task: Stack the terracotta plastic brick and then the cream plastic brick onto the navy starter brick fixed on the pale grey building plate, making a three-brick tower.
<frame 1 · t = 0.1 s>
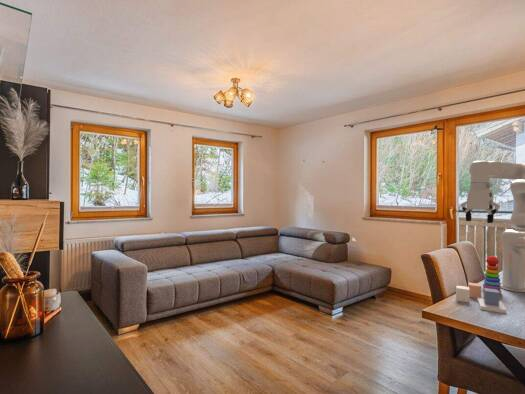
hand: (479, 221, 149), 37 cm above the table, tool pointing down, fingers open, 9 cm apart
cream brick: (462, 300, 147), on the table
terracotta brick: (474, 296, 152), on the table
stacking toy: (491, 292, 158), on the table
tower base: (490, 306, 138), on the table
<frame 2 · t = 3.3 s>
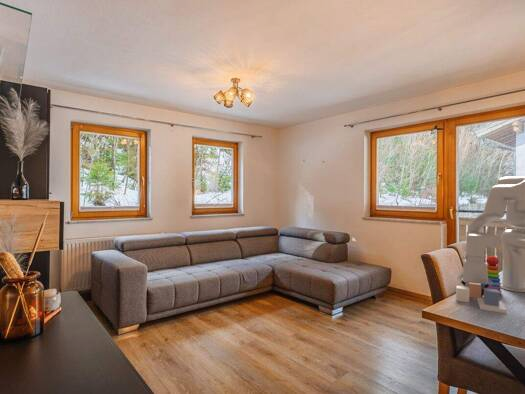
hand: (474, 295, 152), 0 cm above the table, tool pointing down, fingers closed on terracotta brick, 5 cm apart
terracotta brick: (474, 296, 152), on the table, touching gripper
everything else where it was.
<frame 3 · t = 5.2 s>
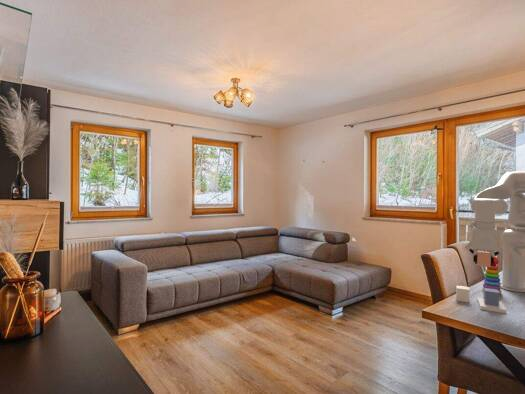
hand: (483, 263, 144), 18 cm above the table, tool pointing down, fingers closed on terracotta brick, 5 cm apart
terracotta brick: (483, 265, 144), point 17 cm above the table, touching gripper
everything else where it was.
when the fingers open (9 cm above the table, at t = 7.5 s): terracotta brick stays where it is, resting on tower base.
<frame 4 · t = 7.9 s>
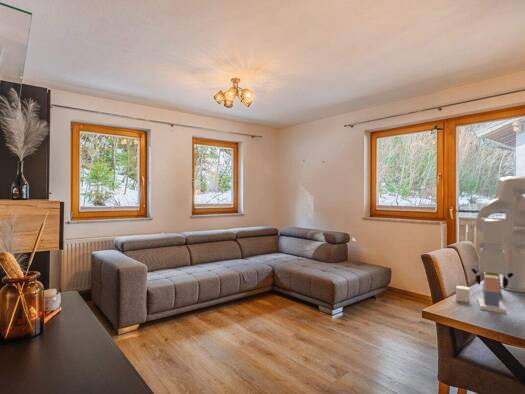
hand: (491, 285, 138), 10 cm above the table, tool pointing down, fingers open, 9 cm apart
terracotta brick: (491, 290, 138), point 7 cm above the table, touching tower base
everything else where it was.
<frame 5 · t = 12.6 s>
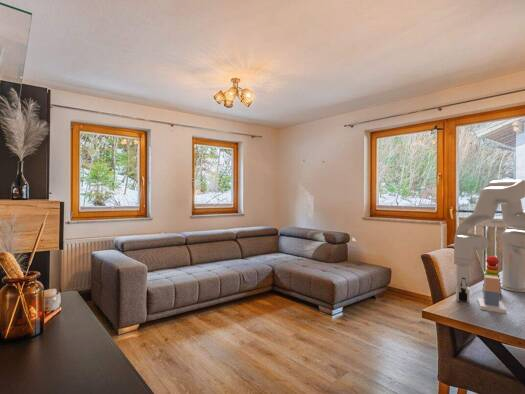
hand: (462, 298, 147), 0 cm above the table, tool pointing down, fingers closed on cream brick, 5 cm apart
cream brick: (462, 299, 147), on the table, touching gripper
everything else where it was.
when the fingers open (15 cm above the table, at t = 17.2 s): cream brick stays where it is, resting on terracotta brick.
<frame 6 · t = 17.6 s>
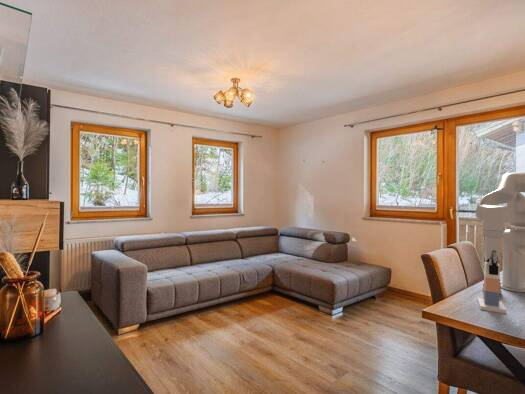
hand: (491, 272, 138), 16 cm above the table, tool pointing down, fingers open, 9 cm apart
cream brick: (491, 276, 138), point 13 cm above the table, touching terracotta brick
terracotta brick: (491, 290, 138), point 7 cm above the table, touching cream brick, tower base
everything else where it was.
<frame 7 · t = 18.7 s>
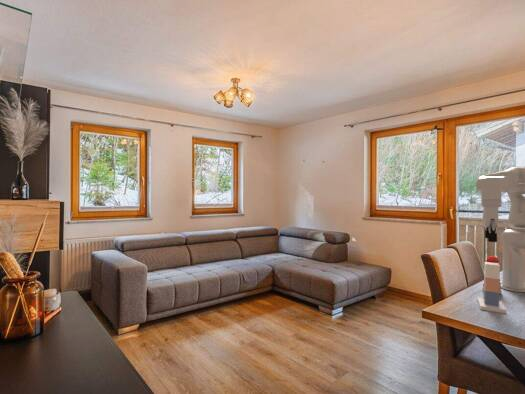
hand: (490, 240, 143), 29 cm above the table, tool pointing down, fingers open, 9 cm apart
nothing on the table moved.
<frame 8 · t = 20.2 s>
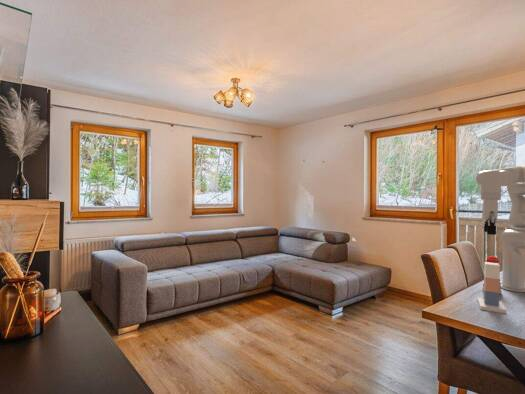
hand: (489, 233, 144), 32 cm above the table, tool pointing down, fingers open, 9 cm apart
nothing on the table moved.
at the end: terracotta brick 0.0 cm off-centre on the tower base, point 7.5 cm above the tower base's base; cream brick 0.1 cm off-centre on the tower base, point 13.5 cm above the tower base's base; cream brick tilted 0° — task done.
